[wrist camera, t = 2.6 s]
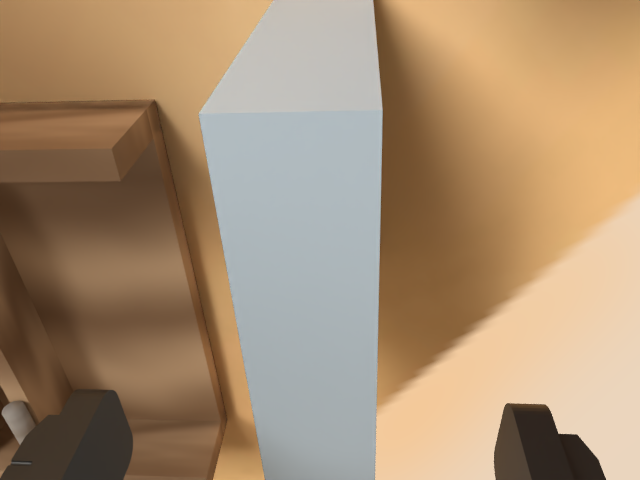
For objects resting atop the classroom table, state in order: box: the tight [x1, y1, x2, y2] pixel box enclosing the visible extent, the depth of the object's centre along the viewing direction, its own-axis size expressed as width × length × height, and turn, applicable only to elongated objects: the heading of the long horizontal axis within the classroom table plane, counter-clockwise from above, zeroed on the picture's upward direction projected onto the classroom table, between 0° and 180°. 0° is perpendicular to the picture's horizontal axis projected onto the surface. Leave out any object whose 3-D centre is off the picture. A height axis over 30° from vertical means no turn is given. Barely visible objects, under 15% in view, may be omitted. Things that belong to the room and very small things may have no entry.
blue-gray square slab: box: [199, 0, 383, 480], centre depth 17 cm, size 12×3×12 cm, turn 2°
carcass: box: [0, 100, 227, 480], centre depth 25 cm, size 20×14×5 cm
